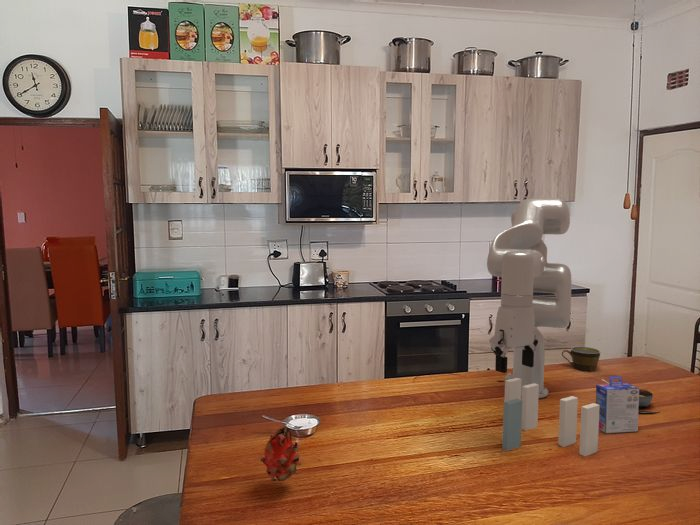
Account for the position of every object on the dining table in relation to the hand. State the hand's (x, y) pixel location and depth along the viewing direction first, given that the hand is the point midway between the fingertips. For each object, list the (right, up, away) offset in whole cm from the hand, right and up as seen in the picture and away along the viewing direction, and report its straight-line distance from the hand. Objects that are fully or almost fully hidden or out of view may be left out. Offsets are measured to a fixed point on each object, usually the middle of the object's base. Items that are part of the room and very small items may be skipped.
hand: (514, 368), depth 128 cm
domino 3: (+9, -19, +14) cm, 25 cm away
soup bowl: (+46, -19, +30) cm, 58 cm away
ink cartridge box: (+32, -20, +14) cm, 40 cm away
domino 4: (+15, -20, +4) cm, 25 cm away
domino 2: (0, -20, +2) cm, 20 cm away
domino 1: (+6, -19, +19) cm, 27 cm away
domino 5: (+18, -21, -1) cm, 27 cm away
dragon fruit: (-57, -22, -15) cm, 63 cm away
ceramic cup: (+44, -16, +61) cm, 77 cm away
